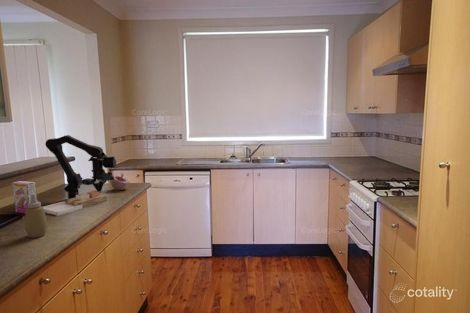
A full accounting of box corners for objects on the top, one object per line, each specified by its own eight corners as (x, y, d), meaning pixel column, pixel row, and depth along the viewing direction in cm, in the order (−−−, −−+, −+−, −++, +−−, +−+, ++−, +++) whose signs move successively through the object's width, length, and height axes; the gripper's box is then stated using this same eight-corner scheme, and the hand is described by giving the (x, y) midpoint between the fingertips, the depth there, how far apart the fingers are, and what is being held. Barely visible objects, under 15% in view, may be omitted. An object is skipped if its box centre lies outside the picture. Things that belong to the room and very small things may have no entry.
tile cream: (76, 199, 178) (75, 195, 177) (84, 197, 182) (83, 193, 182) (81, 200, 175) (81, 196, 175) (89, 198, 180) (89, 194, 179)
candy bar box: (14, 212, 163) (11, 182, 161) (23, 210, 168) (20, 180, 166) (29, 215, 160) (26, 184, 157) (38, 212, 164) (35, 181, 162)
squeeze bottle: (32, 232, 136) (28, 192, 134) (51, 231, 137) (48, 191, 134) (21, 239, 128) (17, 197, 126) (42, 238, 129) (38, 196, 126)
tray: (39, 211, 166) (39, 207, 165) (64, 204, 178) (64, 201, 178) (57, 215, 158) (57, 212, 158) (82, 208, 170) (82, 205, 170)
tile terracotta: (87, 196, 184) (86, 192, 183) (94, 194, 188) (94, 190, 188) (92, 197, 181) (92, 193, 181) (99, 195, 186) (99, 191, 185)
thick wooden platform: (66, 204, 178) (66, 199, 177) (91, 198, 192) (91, 193, 191) (82, 208, 171) (81, 202, 171) (106, 200, 185) (106, 196, 184)
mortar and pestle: (126, 192, 206) (125, 175, 204) (108, 192, 206) (107, 175, 204) (132, 187, 218) (131, 171, 216) (115, 187, 218) (114, 171, 216)
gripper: (92, 171, 174) (94, 198, 176) (119, 166, 190) (120, 191, 192) (80, 170, 179) (82, 196, 182) (107, 165, 196) (108, 189, 198)
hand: (99, 193), depth 188 cm, fingers closed
